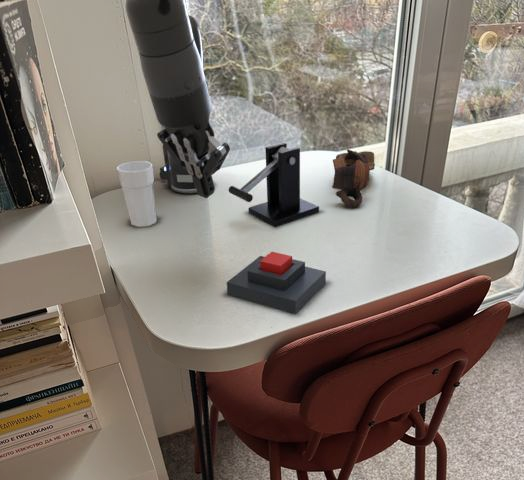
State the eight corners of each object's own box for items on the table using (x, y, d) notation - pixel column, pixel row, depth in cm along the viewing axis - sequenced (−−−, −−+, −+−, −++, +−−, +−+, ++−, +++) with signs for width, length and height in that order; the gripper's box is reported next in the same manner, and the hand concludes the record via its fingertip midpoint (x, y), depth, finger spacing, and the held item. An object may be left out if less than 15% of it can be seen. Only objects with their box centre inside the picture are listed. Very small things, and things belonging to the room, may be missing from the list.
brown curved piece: (334, 165, 114) (376, 165, 113) (335, 149, 114) (376, 149, 112) (336, 173, 129) (373, 173, 128) (337, 159, 128) (374, 159, 127)
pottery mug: (330, 142, 107) (367, 140, 109) (311, 163, 115) (346, 161, 118) (344, 202, 106) (380, 198, 109) (323, 219, 115) (358, 215, 118)
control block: (227, 294, 86) (225, 271, 83) (260, 267, 92) (259, 245, 90) (295, 313, 80) (295, 290, 78) (325, 283, 87) (326, 260, 85)
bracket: (275, 227, 105) (273, 159, 98) (248, 213, 111) (244, 148, 104) (319, 212, 110) (320, 146, 103) (291, 199, 116) (290, 137, 109)
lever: (249, 205, 101) (244, 195, 99) (231, 196, 105) (226, 186, 103) (299, 161, 103) (295, 151, 101) (280, 154, 107) (276, 144, 105)
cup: (154, 212, 113) (145, 158, 107) (165, 223, 109) (156, 167, 102) (123, 219, 111) (112, 164, 105) (133, 231, 106) (122, 174, 100)
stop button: (260, 271, 84) (259, 260, 83) (272, 261, 86) (271, 251, 85) (280, 276, 82) (280, 265, 81) (292, 266, 85) (292, 255, 84)
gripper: (232, 77, 69) (254, 193, 82) (162, 59, 76) (193, 170, 89) (191, 105, 66) (221, 221, 79) (122, 84, 73) (160, 195, 86)
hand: (206, 194), depth 84 cm, fingers closed
